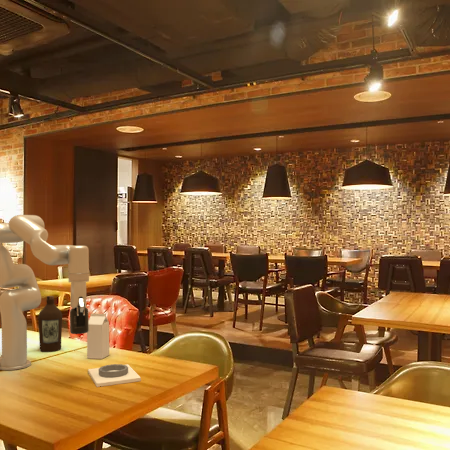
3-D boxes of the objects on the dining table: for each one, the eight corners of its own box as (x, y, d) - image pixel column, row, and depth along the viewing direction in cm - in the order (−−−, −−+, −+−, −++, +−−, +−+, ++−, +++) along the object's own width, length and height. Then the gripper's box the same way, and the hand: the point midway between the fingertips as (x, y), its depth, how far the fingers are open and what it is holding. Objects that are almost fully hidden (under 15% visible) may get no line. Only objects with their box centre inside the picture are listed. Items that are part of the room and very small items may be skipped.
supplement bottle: (92, 331, 190) (92, 300, 190) (80, 335, 184) (79, 302, 184) (78, 330, 193) (78, 299, 193) (66, 333, 187) (65, 301, 187)
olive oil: (38, 348, 234) (38, 295, 234) (62, 346, 238) (61, 294, 238) (38, 353, 224) (37, 298, 224) (62, 351, 228) (62, 297, 228)
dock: (96, 387, 176) (96, 378, 176) (87, 372, 194) (87, 364, 194) (140, 381, 182) (140, 372, 182) (128, 367, 200) (128, 359, 200)
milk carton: (102, 359, 213) (102, 315, 213) (87, 358, 214) (86, 314, 215) (109, 355, 220) (109, 312, 220) (94, 354, 221) (94, 312, 222)
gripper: (66, 276, 195) (66, 321, 195) (71, 280, 179) (71, 329, 179) (85, 275, 198) (86, 320, 198) (92, 279, 182) (93, 327, 182)
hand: (79, 324), depth 188 cm, fingers closed on supplement bottle, 6 cm apart
